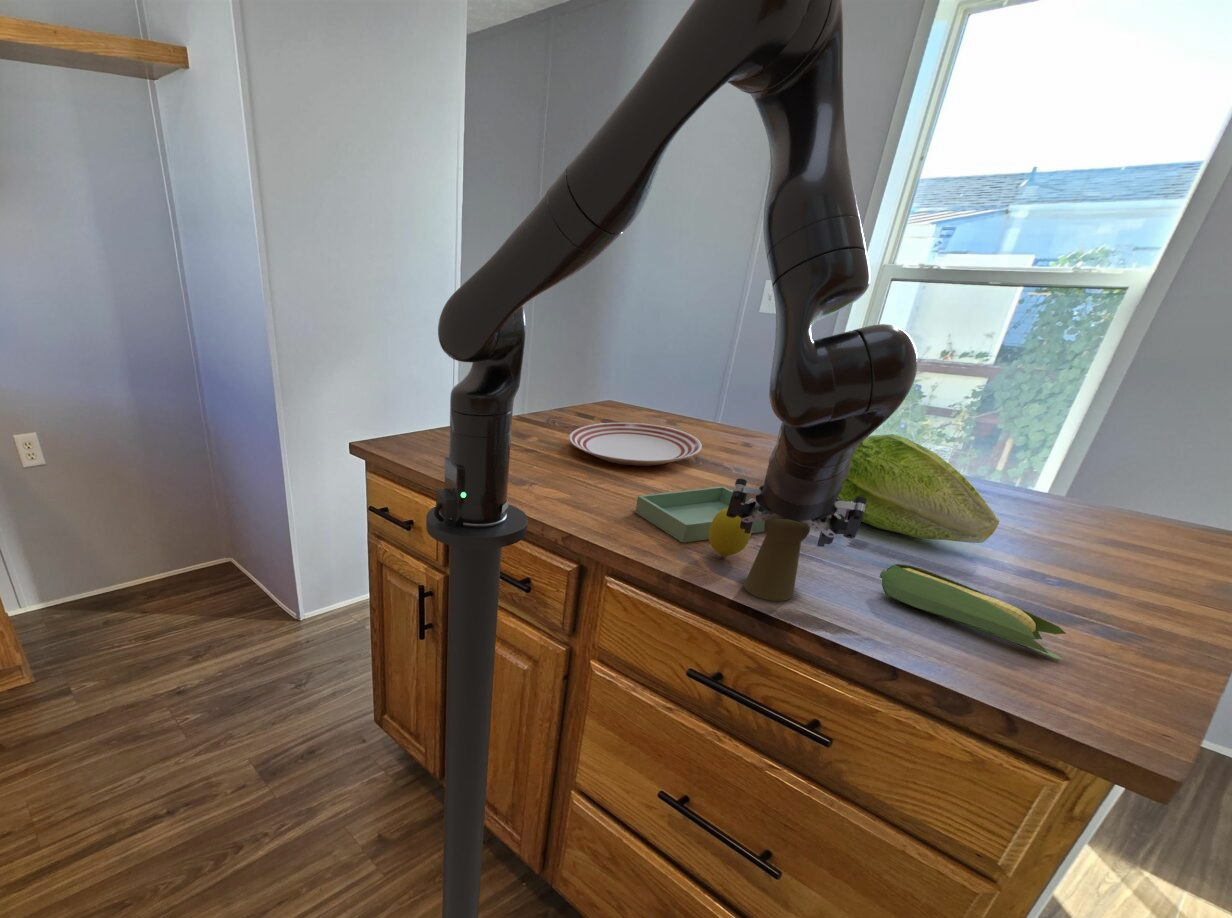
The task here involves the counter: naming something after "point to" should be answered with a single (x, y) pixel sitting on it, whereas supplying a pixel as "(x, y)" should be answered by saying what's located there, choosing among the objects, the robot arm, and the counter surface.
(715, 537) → the lemon
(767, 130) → the robot arm
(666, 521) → the spice tray
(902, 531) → the lettuce
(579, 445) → the dinner plate
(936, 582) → the edible corn
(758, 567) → the olive brown pepper mill
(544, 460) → the counter surface
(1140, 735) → the counter surface
